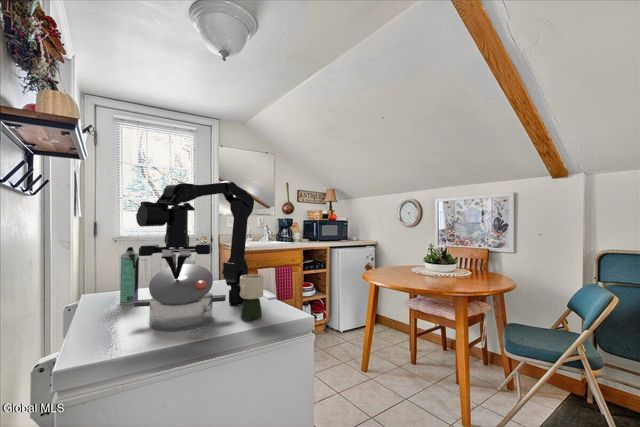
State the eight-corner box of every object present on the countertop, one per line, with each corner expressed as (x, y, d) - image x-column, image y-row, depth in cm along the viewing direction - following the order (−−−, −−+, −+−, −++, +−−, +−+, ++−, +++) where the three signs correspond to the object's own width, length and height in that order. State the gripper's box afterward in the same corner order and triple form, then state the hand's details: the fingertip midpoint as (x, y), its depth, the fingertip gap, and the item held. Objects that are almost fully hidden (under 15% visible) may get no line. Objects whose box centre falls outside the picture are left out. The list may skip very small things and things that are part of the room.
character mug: (250, 312, 99) (250, 272, 99) (269, 314, 97) (270, 273, 97) (231, 323, 88) (231, 278, 89) (252, 325, 86) (253, 280, 87)
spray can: (141, 301, 109) (142, 246, 110) (127, 305, 104) (128, 248, 105) (130, 300, 111) (131, 246, 112) (116, 304, 106) (117, 247, 106)
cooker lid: (214, 262, 100) (214, 256, 99) (210, 302, 84) (210, 295, 83) (157, 264, 96) (157, 257, 94) (142, 307, 79) (141, 299, 78)
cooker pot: (225, 309, 101) (225, 288, 101) (224, 326, 85) (225, 302, 85) (143, 315, 94) (144, 292, 94) (125, 335, 78) (126, 308, 78)
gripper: (212, 224, 99) (212, 272, 99) (149, 225, 94) (148, 275, 94) (209, 226, 88) (209, 279, 88) (138, 226, 83) (137, 282, 83)
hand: (176, 278), depth 89 cm, fingers closed
